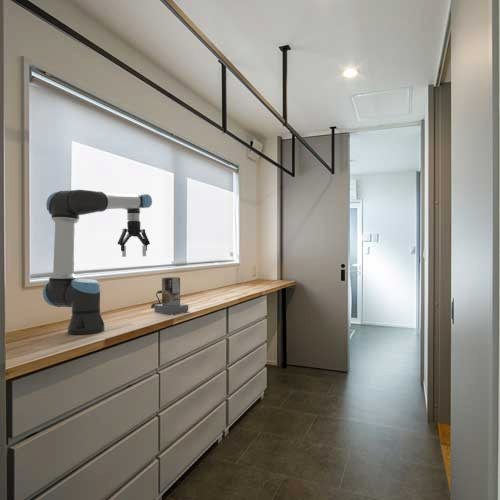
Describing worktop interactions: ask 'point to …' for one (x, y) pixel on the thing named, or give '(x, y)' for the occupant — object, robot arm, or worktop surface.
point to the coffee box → (171, 291)
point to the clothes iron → (158, 299)
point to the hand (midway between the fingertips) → (134, 256)
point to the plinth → (171, 308)
